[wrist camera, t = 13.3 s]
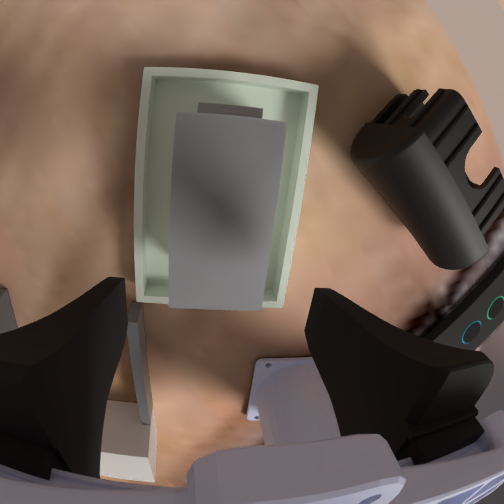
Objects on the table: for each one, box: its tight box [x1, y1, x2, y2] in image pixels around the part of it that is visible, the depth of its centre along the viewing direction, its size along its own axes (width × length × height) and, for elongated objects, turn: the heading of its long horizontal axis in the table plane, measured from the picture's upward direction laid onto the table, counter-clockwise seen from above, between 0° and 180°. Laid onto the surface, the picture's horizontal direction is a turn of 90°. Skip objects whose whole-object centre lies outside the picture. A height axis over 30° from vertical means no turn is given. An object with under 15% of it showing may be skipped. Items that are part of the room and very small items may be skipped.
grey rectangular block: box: [169, 102, 288, 311], centre depth 16 cm, size 5×10×6 cm, turn 174°
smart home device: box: [424, 258, 504, 350], centre depth 27 cm, size 8×2×20 cm
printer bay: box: [0, 288, 157, 482], centre depth 21 cm, size 13×16×6 cm
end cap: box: [351, 88, 504, 270], centre depth 18 cm, size 10×7×7 cm
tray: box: [134, 67, 319, 308], centre depth 18 cm, size 10×14×2 cm
